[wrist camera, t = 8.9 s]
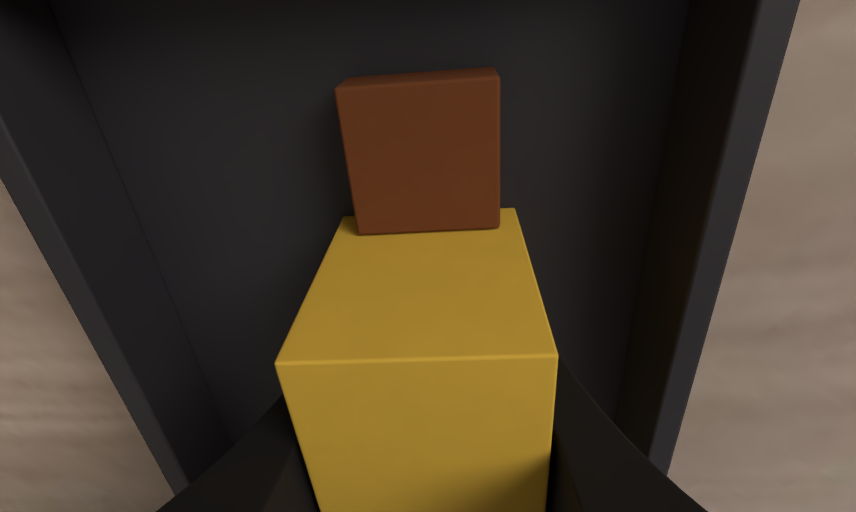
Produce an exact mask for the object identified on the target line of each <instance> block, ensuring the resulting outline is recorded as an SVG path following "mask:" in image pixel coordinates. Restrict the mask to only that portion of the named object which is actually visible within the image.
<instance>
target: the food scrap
mask: <svg viewBox="0 0 856 512" xmlns="http://www.w3.org/2000/svg"><path fill="white" fill-rule="evenodd" d="M334 96H335V102H336V108H337V114H338V120H339V126H340V132H341V138H342V143H343V149H344V155H345V161H346V167H347V173H348V179H349V185H350V191H351V197H352V203H353V209H354V215H355V221H356V227H357V232H358V234H359V235H370V234H390V233H410V232H430V231H450V230H471V229H491V228H499V226H500V77H499V75H498V74H497V72H496V70H495V68H494V67H480V68H467V69H454V70H440V71H427V72H413V73H400V74H386V75H373V76H359V77H348V78H346V79H345V80H344V81H342V82H341V83H340V84H339V85H338V86H337V87H335V88H334Z"/></svg>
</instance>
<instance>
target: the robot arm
mask: <svg viewBox="0 0 856 512" xmlns="http://www.w3.org/2000/svg"><path fill="white" fill-rule="evenodd" d="M557 352H558V351H557ZM558 355H559V357H558V369H557V381H556V393H555V405H554V418H553V430H552V442H551V454H550V466H549V478H548V490H547V503H546V512H707V511H706V510H705V509H704V508H703V507H701V506H700V505H699V504H698V503H697V502H695V501H694V500H693V499H692V498H691V497H689V496H688V495H687V494H686V493H684V492H683V491H682V490H681V489H680V488H679V487H678V486H677V485H676V484H674V483H673V482H672V481H671V480H670V479H669V478H668V477H667V476H666V475H665V474H664V473H662V472H661V471H660V470H659V469H658V468H657V467H656V466H655V465H654V464H653V463H652V462H651V461H650V460H649V459H648V458H647V457H646V456H645V455H644V454H643V453H642V452H641V451H640V450H639V449H638V448H637V447H636V446H635V445H634V444H633V443H632V442H631V441H630V440H629V439H628V438H627V437H626V436H625V435H624V434H623V433H622V432H621V431H620V429H619V428H618V427H617V426H616V425H615V424H614V423H613V422H612V420H611V419H610V418H609V417H608V416H607V415H606V414H605V413H604V411H603V410H602V409H601V408H600V407H599V406H598V404H597V403H596V402H595V401H594V399H593V398H592V397H591V396H590V394H589V393H588V392H587V391H586V389H585V388H584V387H583V386H582V384H581V383H580V382H579V381H578V379H577V378H576V377H575V375H574V374H573V373H572V371H571V370H570V368H569V367H568V366H567V364H566V363H565V362H564V360H563V359H562V357H561V356H560V354H559V353H558ZM156 512H320V509H319V506H318V503H317V500H316V497H315V493H314V490H313V487H312V484H311V481H310V477H309V474H308V471H307V468H306V465H305V461H304V458H303V455H302V452H301V449H300V445H299V442H298V439H297V436H296V433H295V429H294V426H293V423H292V420H291V417H290V413H289V410H288V407H287V404H286V401H285V397H284V394H283V393H282V394H281V395H280V397H279V398H278V399H277V400H276V401H275V402H274V404H273V405H272V406H271V407H270V408H269V409H268V410H267V411H266V412H265V413H264V414H263V415H262V417H261V418H260V419H259V420H258V421H257V422H256V423H255V424H254V425H253V426H252V427H251V428H250V429H249V430H248V431H247V432H246V433H245V435H244V436H243V437H242V438H241V439H239V440H238V441H237V442H236V443H235V444H234V445H233V446H232V447H231V448H230V449H229V450H228V451H227V452H226V453H225V454H224V455H223V456H222V457H221V458H220V459H219V460H217V461H216V462H215V463H214V464H213V465H212V466H211V467H210V468H209V469H208V470H206V471H205V472H204V473H203V474H202V475H201V476H200V477H198V478H197V479H196V480H195V481H193V482H192V483H191V484H190V485H188V486H187V487H186V488H185V489H184V490H182V491H181V492H180V493H179V494H177V495H176V496H175V497H174V498H172V499H171V500H170V501H169V502H167V503H166V504H165V505H164V506H162V507H161V508H160V509H159V510H157V511H156Z"/></svg>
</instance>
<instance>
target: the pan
mask: <svg viewBox="0 0 856 512" xmlns="http://www.w3.org/2000/svg"><path fill="white" fill-rule="evenodd" d="M799 2H800V0H0V178H1V179H2V181H3V183H4V185H5V187H6V189H7V190H8V192H9V194H10V196H11V198H12V200H13V201H14V203H15V205H16V207H17V209H18V210H19V212H20V214H21V216H22V218H23V220H24V221H25V223H26V225H27V227H28V229H29V230H30V232H31V234H32V236H33V238H34V240H35V241H36V243H37V245H38V247H39V249H40V251H41V252H42V254H43V256H44V258H45V260H46V261H47V263H48V265H49V267H50V269H51V271H52V272H53V274H54V276H55V278H56V280H57V281H58V283H59V285H60V287H61V289H62V291H63V292H64V294H65V296H66V298H67V300H68V301H69V303H70V305H71V307H72V309H73V311H74V312H75V314H76V316H77V318H78V320H79V322H80V323H81V325H82V327H83V329H84V331H85V332H86V334H87V336H88V338H89V340H90V342H91V343H92V345H93V347H94V349H95V351H96V352H97V354H98V356H99V358H100V360H101V362H102V363H103V365H104V367H105V369H106V371H107V373H108V374H109V376H110V378H111V380H112V382H113V383H114V385H115V387H116V389H117V391H118V393H119V394H120V396H121V398H122V400H123V402H124V403H125V405H126V407H127V409H128V411H129V413H130V414H131V416H132V418H133V420H134V422H135V424H136V425H137V427H138V429H139V431H140V433H141V434H142V436H143V438H144V440H145V442H146V444H147V445H148V447H149V449H150V451H151V453H152V454H153V456H154V458H155V460H156V462H157V464H158V465H159V467H160V469H161V471H162V473H163V474H164V476H165V478H166V480H167V482H168V484H169V485H170V487H171V489H172V491H173V493H174V495H175V496H176V495H177V494H179V493H180V492H181V491H182V490H184V489H185V488H186V487H187V486H188V485H190V484H191V483H192V482H193V481H195V480H196V479H197V478H198V477H200V476H201V475H202V474H203V473H204V472H205V471H206V470H208V469H209V468H210V467H211V466H212V465H213V464H214V463H215V462H216V461H217V460H219V459H220V458H221V457H222V456H223V455H224V454H225V453H226V452H227V451H228V450H229V449H230V448H231V447H232V446H233V445H234V444H235V443H236V442H237V441H238V440H239V439H241V438H242V437H243V436H244V435H245V433H246V432H247V431H248V430H249V429H250V428H251V427H252V426H253V425H254V424H255V423H256V422H257V421H258V420H259V419H260V418H261V417H262V415H263V414H264V413H265V412H266V411H267V410H268V409H269V408H270V407H271V406H272V405H273V404H274V402H275V401H276V400H277V399H278V398H279V397H280V395H281V394H282V393H283V391H282V388H281V385H280V381H279V378H278V375H277V372H276V369H275V365H274V363H275V360H276V358H277V356H278V354H279V352H280V350H281V347H282V345H283V343H284V341H285V339H286V337H287V335H288V333H289V331H290V328H291V326H292V324H293V322H294V320H295V318H296V316H297V314H298V311H299V309H300V307H301V305H302V303H303V301H304V299H305V297H306V295H307V292H308V290H309V288H310V286H311V284H312V282H313V280H314V278H315V275H316V273H317V271H318V269H319V267H320V265H321V263H322V261H323V258H324V256H325V254H326V252H327V250H328V248H329V246H330V244H331V242H332V239H333V237H334V235H335V233H336V231H337V229H338V227H339V225H340V222H341V220H342V218H343V217H344V216H355V215H354V209H353V203H352V197H351V191H350V185H349V179H348V173H347V167H346V161H345V155H344V149H343V143H342V138H341V132H340V126H339V120H338V114H337V108H336V102H335V96H334V88H335V87H337V86H338V85H339V84H340V83H341V82H342V81H344V80H345V79H346V78H348V77H359V76H373V75H386V74H400V73H413V72H427V71H440V70H454V69H467V68H480V67H494V68H495V70H496V72H497V74H498V75H499V77H500V208H515V210H516V214H517V217H518V221H519V224H520V227H521V231H522V234H523V237H524V241H525V244H526V248H527V251H528V254H529V258H530V261H531V264H532V268H533V271H534V274H535V278H536V281H537V285H538V288H539V291H540V295H541V298H542V301H543V305H544V308H545V312H546V315H547V318H548V322H549V325H550V328H551V332H552V335H553V339H554V342H555V345H556V349H557V351H558V353H559V354H560V356H561V357H562V359H563V360H564V362H565V363H566V364H567V366H568V367H569V368H570V370H571V371H572V373H573V374H574V375H575V377H576V378H577V379H578V381H579V382H580V383H581V384H582V386H583V387H584V388H585V389H586V391H587V392H588V393H589V394H590V396H591V397H592V398H593V399H594V401H595V402H596V403H597V404H598V406H599V407H600V408H601V409H602V410H603V411H604V413H605V414H606V415H607V416H608V417H609V418H610V419H611V420H612V422H613V423H614V424H615V425H616V426H617V427H618V428H619V429H620V431H621V432H622V433H623V434H624V435H625V436H626V437H627V438H628V439H629V440H630V441H631V442H632V443H633V444H634V445H635V446H636V447H637V448H638V449H639V450H640V451H641V452H642V453H643V454H644V455H645V456H646V457H647V458H648V459H649V460H650V461H651V462H652V463H653V464H654V465H655V466H656V467H657V468H658V469H659V470H660V471H661V472H662V473H664V474H665V475H666V476H667V473H668V470H669V466H670V463H671V459H672V455H673V452H674V448H675V445H676V441H677V438H678V434H679V430H680V427H681V423H682V420H683V416H684V413H685V409H686V405H687V402H688V398H689V395H690V391H691V388H692V384H693V381H694V377H695V373H696V370H697V366H698V363H699V359H700V356H701V352H702V348H703V345H704V341H705V338H706V334H707V331H708V327H709V323H710V320H711V316H712V313H713V309H714V306H715V302H716V298H717V295H718V291H719V288H720V284H721V281H722V277H723V273H724V270H725V266H726V263H727V259H728V256H729V252H730V248H731V245H732V241H733V238H734V234H735V231H736V227H737V223H738V220H739V216H740V213H741V209H742V206H743V202H744V198H745V195H746V191H747V188H748V184H749V181H750V177H751V173H752V170H753V166H754V163H755V159H756V156H757V152H758V148H759V145H760V141H761V138H762V134H763V131H764V127H765V123H766V120H767V116H768V113H769V109H770V106H771V102H772V98H773V95H774V91H775V88H776V84H777V81H778V77H779V73H780V70H781V66H782V63H783V59H784V56H785V52H786V48H787V45H788V41H789V38H790V34H791V31H792V27H793V23H794V20H795V16H796V13H797V9H798V6H799Z"/></svg>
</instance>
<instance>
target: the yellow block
mask: <svg viewBox="0 0 856 512" xmlns="http://www.w3.org/2000/svg"><path fill="white" fill-rule="evenodd" d="M558 357H559V355H558V352H557V349H556V345H555V342H554V339H553V335H552V332H551V328H550V325H549V322H548V318H547V315H546V312H545V308H544V305H543V301H542V298H541V295H540V291H539V288H538V285H537V281H536V278H535V274H534V271H533V268H532V264H531V261H530V258H529V254H528V251H527V248H526V244H525V241H524V237H523V234H522V231H521V227H520V224H519V221H518V217H517V214H516V210H515V208H500V226H499V228H491V229H471V230H450V231H430V232H410V233H390V234H370V235H359V234H358V232H357V227H356V221H355V216H344V217H343V218H342V220H341V222H340V225H339V227H338V229H337V231H336V233H335V235H334V237H333V239H332V242H331V244H330V246H329V248H328V250H327V252H326V254H325V256H324V258H323V261H322V263H321V265H320V267H319V269H318V271H317V273H316V275H315V278H314V280H313V282H312V284H311V286H310V288H309V290H308V292H307V295H306V297H305V299H304V301H303V303H302V305H301V307H300V309H299V311H298V314H297V316H296V318H295V320H294V322H293V324H292V326H291V328H290V331H289V333H288V335H287V337H286V339H285V341H284V343H283V345H282V347H281V350H280V352H279V354H278V356H277V358H276V360H275V363H274V365H275V369H276V372H277V375H278V378H279V381H280V385H281V388H282V391H283V394H284V397H285V401H286V404H287V407H288V410H289V413H290V417H291V420H292V423H293V426H294V429H295V433H296V436H297V439H298V442H299V445H300V449H301V452H302V455H303V458H304V461H305V465H306V468H307V471H308V474H309V477H310V481H311V484H312V487H313V490H314V493H315V497H316V500H317V503H318V506H319V509H320V512H546V503H547V490H548V478H549V466H550V454H551V442H552V430H553V418H554V405H555V393H556V381H557V369H558Z"/></svg>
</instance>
